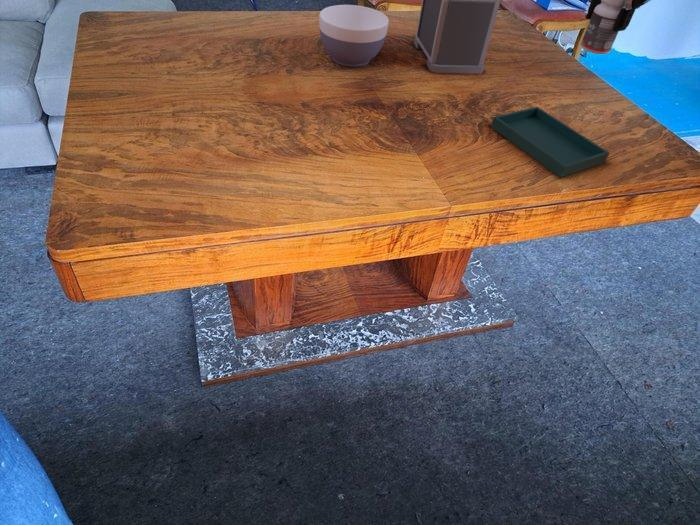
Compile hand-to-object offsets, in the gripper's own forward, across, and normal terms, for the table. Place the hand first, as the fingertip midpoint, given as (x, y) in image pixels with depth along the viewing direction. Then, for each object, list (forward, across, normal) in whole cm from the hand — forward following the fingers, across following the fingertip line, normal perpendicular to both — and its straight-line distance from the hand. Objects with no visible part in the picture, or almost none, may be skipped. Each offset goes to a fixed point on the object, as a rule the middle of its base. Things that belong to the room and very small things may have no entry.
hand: (605, 23), depth 97 cm
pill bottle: (+5, 0, 0) cm, 5 cm away
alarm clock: (+19, +34, +8) cm, 40 cm away
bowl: (+19, +40, +32) cm, 55 cm away
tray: (+19, -7, +14) cm, 25 cm away
